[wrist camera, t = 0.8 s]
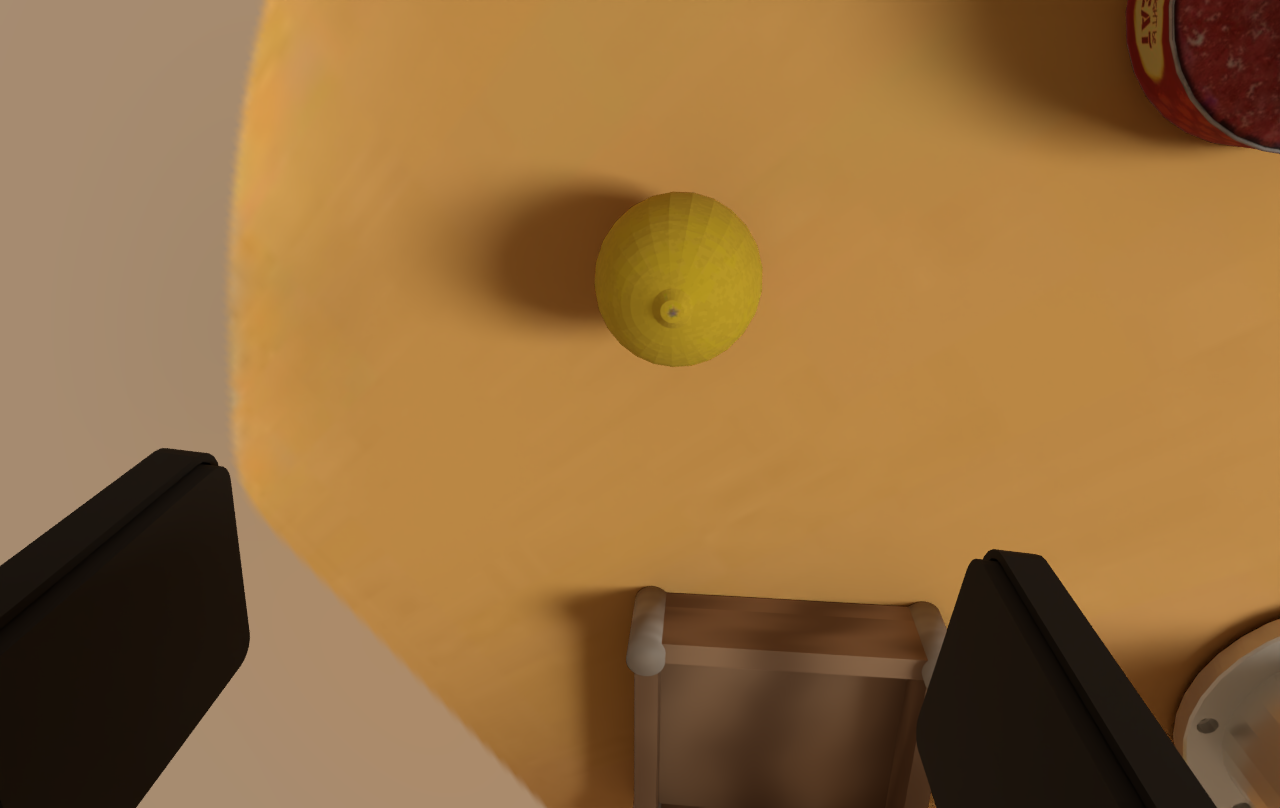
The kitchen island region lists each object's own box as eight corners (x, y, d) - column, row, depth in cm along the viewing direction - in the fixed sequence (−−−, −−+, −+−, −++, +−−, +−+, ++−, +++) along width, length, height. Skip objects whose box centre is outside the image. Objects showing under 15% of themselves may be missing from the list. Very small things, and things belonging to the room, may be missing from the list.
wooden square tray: (942, 602, 35) (969, 665, 31) (902, 824, 40) (920, 900, 37) (635, 585, 36) (626, 643, 32) (634, 803, 41) (626, 874, 38)
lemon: (646, 343, 32) (623, 426, 24) (586, 213, 30) (544, 260, 22) (778, 292, 30) (797, 362, 23) (724, 152, 29) (727, 181, 21)
